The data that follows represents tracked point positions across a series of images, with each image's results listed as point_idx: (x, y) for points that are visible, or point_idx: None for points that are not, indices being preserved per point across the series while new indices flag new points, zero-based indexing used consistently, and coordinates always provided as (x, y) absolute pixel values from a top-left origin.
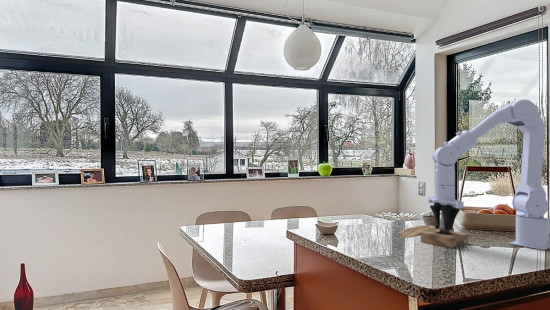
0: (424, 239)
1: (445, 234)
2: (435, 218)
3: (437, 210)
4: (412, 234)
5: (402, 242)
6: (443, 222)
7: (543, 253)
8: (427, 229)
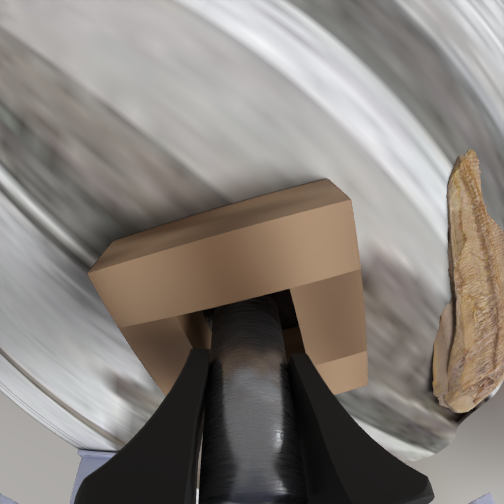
0: (303, 191)
1: (216, 328)
2: (336, 404)
3: (326, 485)
4: (471, 269)
5: (360, 43)
6: (221, 393)
7: (47, 426)
8: (461, 376)
